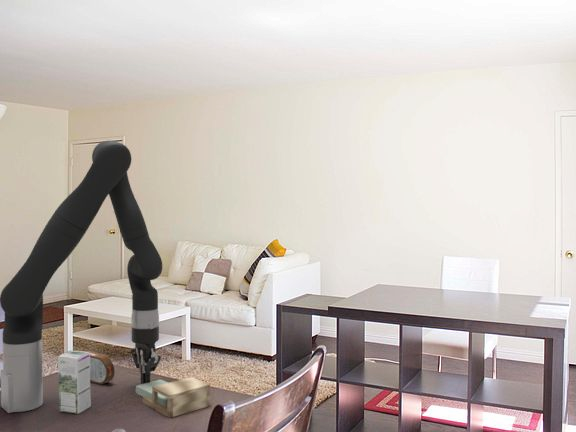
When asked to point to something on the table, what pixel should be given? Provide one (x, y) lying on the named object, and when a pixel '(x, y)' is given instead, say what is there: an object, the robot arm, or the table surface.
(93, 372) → the tin
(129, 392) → the table surface
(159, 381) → the panel
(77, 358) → the syrup box
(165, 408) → the beige forked block
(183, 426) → the table surface
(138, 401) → the table surface
